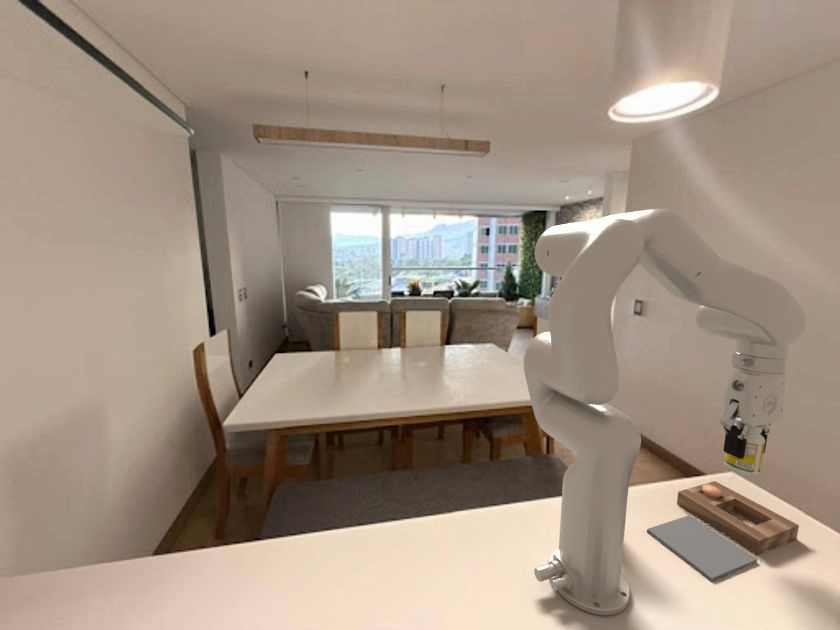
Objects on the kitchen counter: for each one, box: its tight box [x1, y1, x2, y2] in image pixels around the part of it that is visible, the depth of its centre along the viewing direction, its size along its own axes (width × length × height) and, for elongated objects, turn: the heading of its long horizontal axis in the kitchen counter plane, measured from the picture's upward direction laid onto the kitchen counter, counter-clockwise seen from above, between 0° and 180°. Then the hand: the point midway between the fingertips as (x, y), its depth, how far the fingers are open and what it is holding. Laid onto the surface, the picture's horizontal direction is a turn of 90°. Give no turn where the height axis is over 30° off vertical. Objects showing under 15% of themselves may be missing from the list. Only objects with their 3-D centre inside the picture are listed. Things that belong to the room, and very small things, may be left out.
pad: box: [646, 515, 758, 582], centre depth 68 cm, size 12×12×1 cm
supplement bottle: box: [723, 417, 765, 476], centre depth 70 cm, size 5×5×10 cm
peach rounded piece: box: [702, 484, 721, 501], centre depth 79 cm, size 3×3×4 cm
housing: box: [676, 480, 800, 556], centre depth 75 cm, size 12×15×3 cm
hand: (743, 451), depth 70 cm, fingers closed on supplement bottle, 5 cm apart
